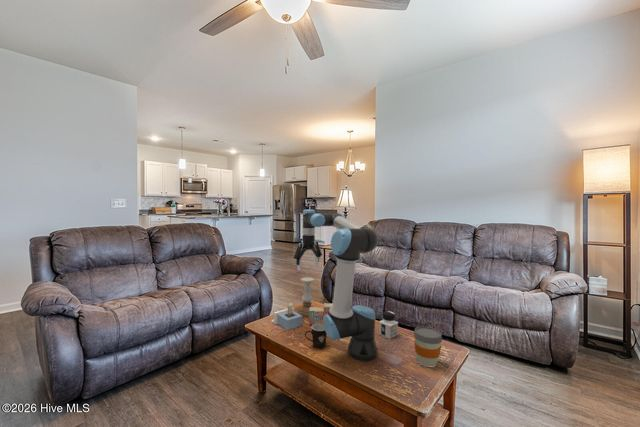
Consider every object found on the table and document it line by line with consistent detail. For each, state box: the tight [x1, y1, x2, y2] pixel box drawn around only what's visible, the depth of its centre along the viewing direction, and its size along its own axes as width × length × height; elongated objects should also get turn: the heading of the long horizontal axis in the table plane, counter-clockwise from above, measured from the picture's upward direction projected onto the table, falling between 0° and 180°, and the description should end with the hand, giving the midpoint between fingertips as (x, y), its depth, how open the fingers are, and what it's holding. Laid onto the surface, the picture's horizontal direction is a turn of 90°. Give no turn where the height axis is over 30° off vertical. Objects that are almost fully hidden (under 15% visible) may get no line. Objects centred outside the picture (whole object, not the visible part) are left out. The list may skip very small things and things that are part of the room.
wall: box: [270, 307, 295, 325], centre depth 180 cm, size 5×14×7 cm, turn 130°
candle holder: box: [295, 276, 316, 319], centre depth 191 cm, size 11×11×24 cm
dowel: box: [287, 299, 294, 318], centre depth 173 cm, size 3×3×14 cm
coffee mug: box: [304, 324, 328, 350], centre depth 149 cm, size 12×9×10 cm
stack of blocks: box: [308, 302, 333, 326], centre depth 175 cm, size 21×6×12 cm, turn 86°
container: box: [378, 310, 399, 340], centre depth 163 cm, size 8×8×13 cm
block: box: [277, 310, 303, 331], centre depth 174 cm, size 11×11×6 cm
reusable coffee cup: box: [413, 326, 443, 366], centre depth 135 cm, size 12×13×15 cm
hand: (307, 268), depth 174 cm, fingers open, 13 cm apart
